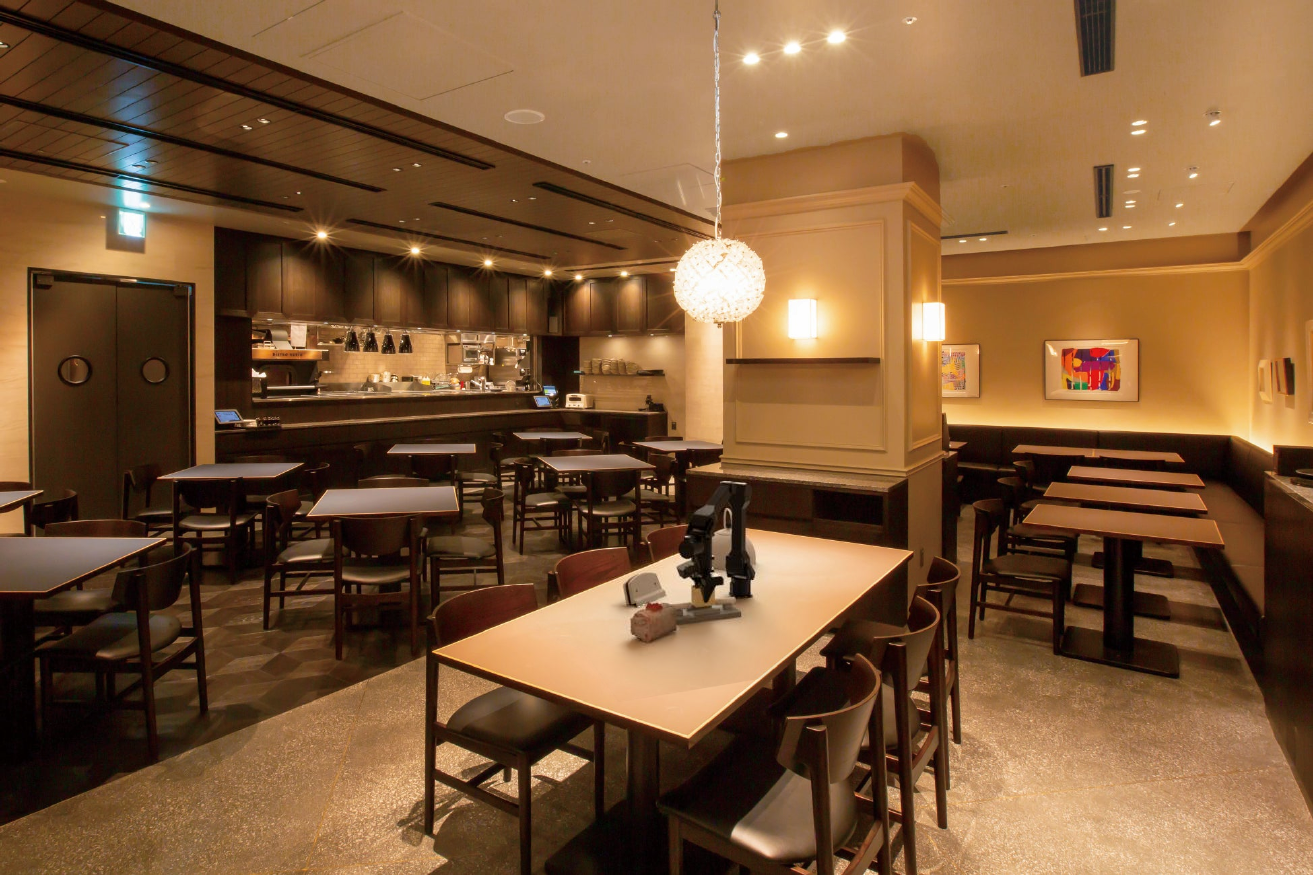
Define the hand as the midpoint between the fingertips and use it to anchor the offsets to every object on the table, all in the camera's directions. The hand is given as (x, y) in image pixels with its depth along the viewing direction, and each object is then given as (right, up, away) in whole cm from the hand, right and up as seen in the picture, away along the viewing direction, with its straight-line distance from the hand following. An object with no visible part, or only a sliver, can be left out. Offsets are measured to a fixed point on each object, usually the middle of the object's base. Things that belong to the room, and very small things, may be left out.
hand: (703, 600), depth 224 cm
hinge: (-19, -4, +18) cm, 27 cm away
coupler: (0, -1, 0) cm, 1 cm away
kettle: (+15, 0, +68) cm, 70 cm away
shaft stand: (0, -5, 0) cm, 5 cm away
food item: (-16, -7, -17) cm, 24 cm away
